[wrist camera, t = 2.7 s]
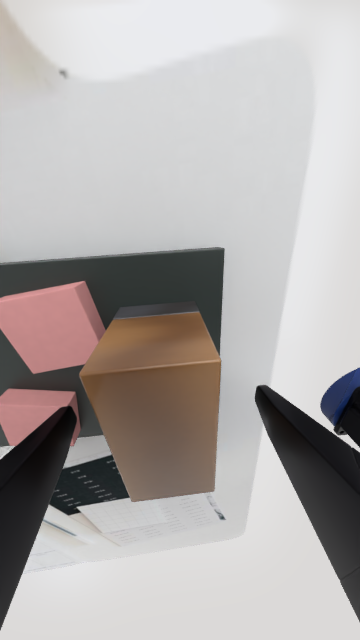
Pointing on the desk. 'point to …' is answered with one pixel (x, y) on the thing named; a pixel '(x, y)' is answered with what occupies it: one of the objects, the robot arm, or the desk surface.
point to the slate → (111, 305)
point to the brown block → (158, 398)
